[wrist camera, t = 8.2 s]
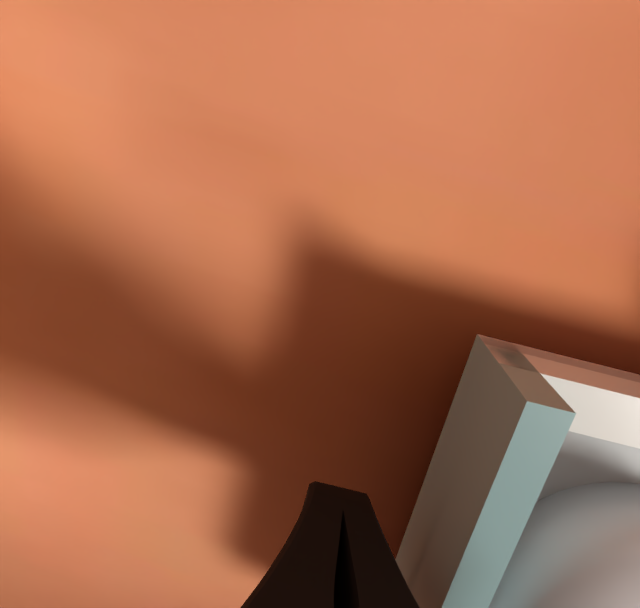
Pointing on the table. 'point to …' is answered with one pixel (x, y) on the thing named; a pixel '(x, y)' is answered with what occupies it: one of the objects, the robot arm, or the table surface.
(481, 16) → the table surface
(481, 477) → the tray
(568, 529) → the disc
